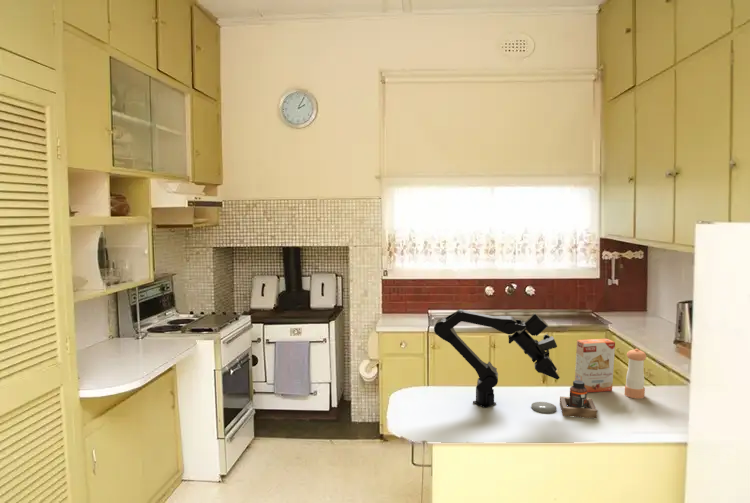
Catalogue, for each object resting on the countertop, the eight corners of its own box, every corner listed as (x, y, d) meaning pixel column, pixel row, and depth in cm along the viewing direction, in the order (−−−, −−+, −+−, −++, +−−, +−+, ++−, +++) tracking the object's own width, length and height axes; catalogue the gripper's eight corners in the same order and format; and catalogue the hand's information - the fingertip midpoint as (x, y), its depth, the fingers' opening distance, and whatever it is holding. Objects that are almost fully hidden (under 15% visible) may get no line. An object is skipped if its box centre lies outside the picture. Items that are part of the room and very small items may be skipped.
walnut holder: (562, 415, 204) (563, 408, 204) (559, 403, 216) (559, 396, 215) (596, 418, 202) (597, 410, 202) (591, 406, 213) (591, 398, 213)
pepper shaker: (642, 392, 227) (644, 346, 225) (646, 399, 220) (649, 351, 218) (622, 391, 229) (625, 345, 226) (626, 397, 222) (628, 350, 219)
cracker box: (581, 393, 226) (583, 343, 224) (573, 388, 232) (575, 339, 230) (613, 391, 228) (615, 341, 226) (604, 386, 234) (607, 337, 232)
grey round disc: (526, 407, 212) (526, 405, 212) (541, 402, 218) (541, 400, 217) (546, 415, 205) (546, 413, 205) (561, 409, 210) (561, 407, 210)
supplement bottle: (587, 415, 205) (588, 385, 204) (570, 413, 206) (571, 384, 205) (584, 408, 211) (585, 379, 210) (568, 407, 212) (569, 378, 211)
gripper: (545, 336, 199) (577, 368, 198) (542, 323, 217) (571, 353, 216) (522, 356, 202) (553, 388, 200) (520, 342, 220) (549, 371, 219)
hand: (557, 374), depth 209 cm, fingers open, 9 cm apart
